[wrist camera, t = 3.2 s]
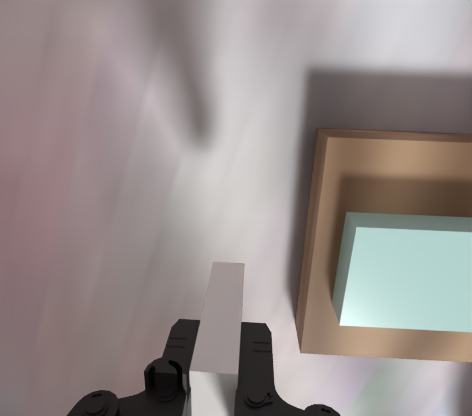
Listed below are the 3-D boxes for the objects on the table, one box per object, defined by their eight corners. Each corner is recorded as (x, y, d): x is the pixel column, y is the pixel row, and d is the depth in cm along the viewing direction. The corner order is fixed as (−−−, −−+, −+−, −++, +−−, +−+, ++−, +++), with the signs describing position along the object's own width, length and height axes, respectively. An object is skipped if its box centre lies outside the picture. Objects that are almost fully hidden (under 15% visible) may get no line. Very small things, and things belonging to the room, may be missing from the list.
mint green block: (331, 303, 21) (339, 325, 20) (346, 212, 19) (356, 227, 17) (481, 310, 21) (504, 334, 19) (514, 219, 19) (542, 235, 17)
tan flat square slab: (294, 322, 26) (300, 353, 23) (317, 128, 21) (327, 137, 18) (489, 332, 25) (519, 365, 23) (562, 137, 20) (611, 148, 17)
